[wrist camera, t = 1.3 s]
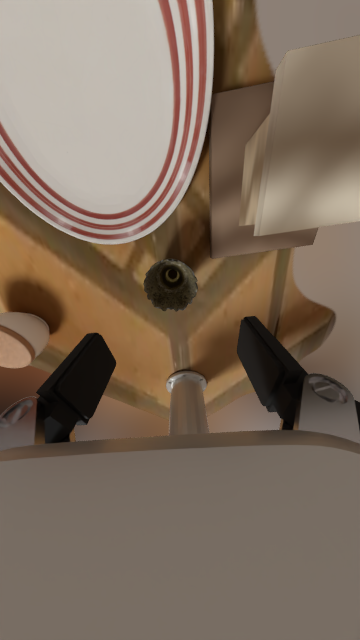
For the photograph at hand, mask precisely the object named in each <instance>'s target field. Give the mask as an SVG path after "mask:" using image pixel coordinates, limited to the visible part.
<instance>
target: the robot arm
mask: <svg viewBox="0 0 360 640" xmlns="http://www.w3.org/2000/svg"><path fill="white" fill-rule="evenodd" d="M237 354H238V356H239V358H240V360H241V362H242V364H243V367H244V369H245V371H246V373H247V375H248V377H249V379H250V381H251V383H252V385H253V387H254V389H255V391H256V394H257V395H258V398H259V400H260V402H261V404H262V405H263V406H266V408H267V410H268V411H269V412H277V413H278V415H279V416H280V418H281V423H280V428H279V430H266V431H240V432H222V433H209V428H208V422H207V416H206V409H205V403H204V396H203V391H204V390H205V389H206V386H207V383H206V379H205V378H204V376H202V375H201V374H199V373H197V372H193V371H181V372H177V373H175V374H173V375H171V376H170V377H169V378H168V380H167V383H166V388H167V390H168V391H169V392H170V393H171V402H170V424H169V436H154V437H140V438H139V437H138V438H124V439H107V440H93V441H78V442H76V440H75V433H74V427H75V425H76V424H77V425H87V423H88V421H89V419H90V418H91V417H92V416H93V414H94V412H95V410H96V408H97V405H98V404H99V401H100V399H101V397H102V395H103V393H104V390H105V388H106V386H107V384H108V382H109V380H110V377H111V375H112V373H113V371H114V369H115V366H116V360H115V359H114V357H113V355H112V353H111V351H110V350H109V348H108V346H107V344H106V343H105V341H104V339H103V337H102V336H101V335H99V334H98V333H89V334H87V335H86V336H85V337H84V338H83V339H82V340H81V341H80V343H79V344H78V345H77V346H76V347H75V348H74V349H73V351H72V352H71V353H70V354H69V355H68V356H67V357H66V359H65V360H64V361H63V362H62V363H61V364H60V365H59V367H58V368H57V369H56V370H55V371H54V372H53V373H52V375H51V376H50V377H49V378H48V379H47V380H46V382H45V383H44V384H43V385H42V386H41V387H40V388H39V390H38V391H37V392H36V393H37V394H39V395H40V397H39V398H38V399H37V398H35V397H27V398H24V399H22V400H20V401H18V402H16V403H15V404H13V405H12V406H10V407H9V408H8V409H7V410H6V411H4V412H3V413H2V414H1V416H0V640H360V402H358V401H356V400H354V398H353V395H352V394H351V393H350V391H349V390H348V389H347V388H346V387H345V386H344V385H342V384H341V383H340V382H338V381H337V380H335V379H333V378H331V377H328V376H325V375H322V374H316V373H313V374H307V372H306V371H305V370H304V369H303V368H302V367H301V366H300V365H299V363H298V362H297V361H296V360H295V359H294V358H293V357H292V356H291V355H290V353H289V352H288V351H287V350H286V349H285V348H284V347H283V346H282V345H281V344H280V342H279V341H278V340H277V339H276V338H275V337H274V336H273V335H272V334H271V333H270V332H269V331H268V330H267V329H266V328H265V326H264V325H263V324H262V323H261V322H260V321H259V320H258V319H257V318H256V317H255V316H249V317H245V318H244V319H242V320H241V325H240V332H239V339H238V345H237Z"/></svg>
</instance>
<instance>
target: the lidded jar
mask: <svg viewBox="0 0 360 640" xmlns="http://www.w3.org/2000/svg"><path fill="white" fill-rule="evenodd" d="M49 338H50V334H49V326H48V325H47V323H46V322H45V321H44V320H43V319H41V318H40V317H38V316H36V315H33V314H29V313H20V312H5V313H0V366H2V367H8V368H21V367H25V366H27V365H29V364H30V363H31V362H32V361H33V360H34V359H35V358H36V357H37V356H38V355H39V354H40V353H41V352H42V351H43V350H44V348H45V347H46V345H47V344H48V342H49Z"/></svg>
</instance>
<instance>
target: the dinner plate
mask: <svg viewBox="0 0 360 640" xmlns="http://www.w3.org/2000/svg"><path fill="white" fill-rule="evenodd" d="M213 71H214V19H213V2H212V0H0V182H1V183H2V184H3V185H4V186H5V187H6V188H7V189H8V190H9V191H10V192H11V193H12V194H13V195H14V196H15V197H16V198H17V199H18V200H19V201H21V202H22V203H23V204H24V205H25V206H26V207H28V208H29V209H30V210H31V211H32V212H34V213H35V214H36V215H38V216H39V217H40V218H42V219H43V220H45V221H46V222H48V223H49V224H51V225H52V226H54V227H56V228H57V229H59V230H61V231H63V232H65V233H67V234H69V235H71V236H74V237H76V238H79V239H82V240H85V241H89V242H93V243H99V244H122V243H127V242H131V241H134V240H137V239H139V238H142V237H144V236H146V235H147V234H149V233H151V232H152V231H154V230H155V229H156V228H157V227H159V226H160V225H161V224H162V223H163V222H164V221H165V220H166V219H167V218H168V217H169V216H170V215H171V213H172V212H173V211H174V210H175V208H176V207H177V205H178V204H179V202H180V201H181V199H182V198H183V196H184V194H185V192H186V190H187V188H188V186H189V184H190V182H191V180H192V177H193V175H194V172H195V170H196V167H197V164H198V161H199V158H200V154H201V151H202V147H203V143H204V139H205V135H206V130H207V125H208V119H209V113H210V105H211V97H212V85H213Z"/></svg>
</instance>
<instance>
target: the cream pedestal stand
mask: <svg viewBox="0 0 360 640" xmlns="http://www.w3.org/2000/svg"><path fill="white" fill-rule="evenodd" d="M209 190H210V258H212V259H214V258H221V257H228V256H235V255H242V254H249V253H256V252H263V251H271V250H278V249H285V248H292V247H299V246H306V245H312V244H313V242H314V239H315V236H316V233H317V230H318V228H319V227H324V226H330V225H337V224H344V223H351V222H358V221H360V35H357V36H352V37H348V38H343V39H339V40H335V41H330V42H325V43H321V44H316V45H312V46H307V47H303V48H298V49H294V50H289V51H287V52H286V54H285V56H284V57H283V59H282V61H281V62H280V64H279V66H278V67H277V69H276V73H275V80H274V81H273V82H269V83H264V84H259V85H254V86H250V87H245V88H240V89H235V90H230V91H226V92H221V93H216V94H212V97H211V105H210V113H209Z"/></svg>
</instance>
